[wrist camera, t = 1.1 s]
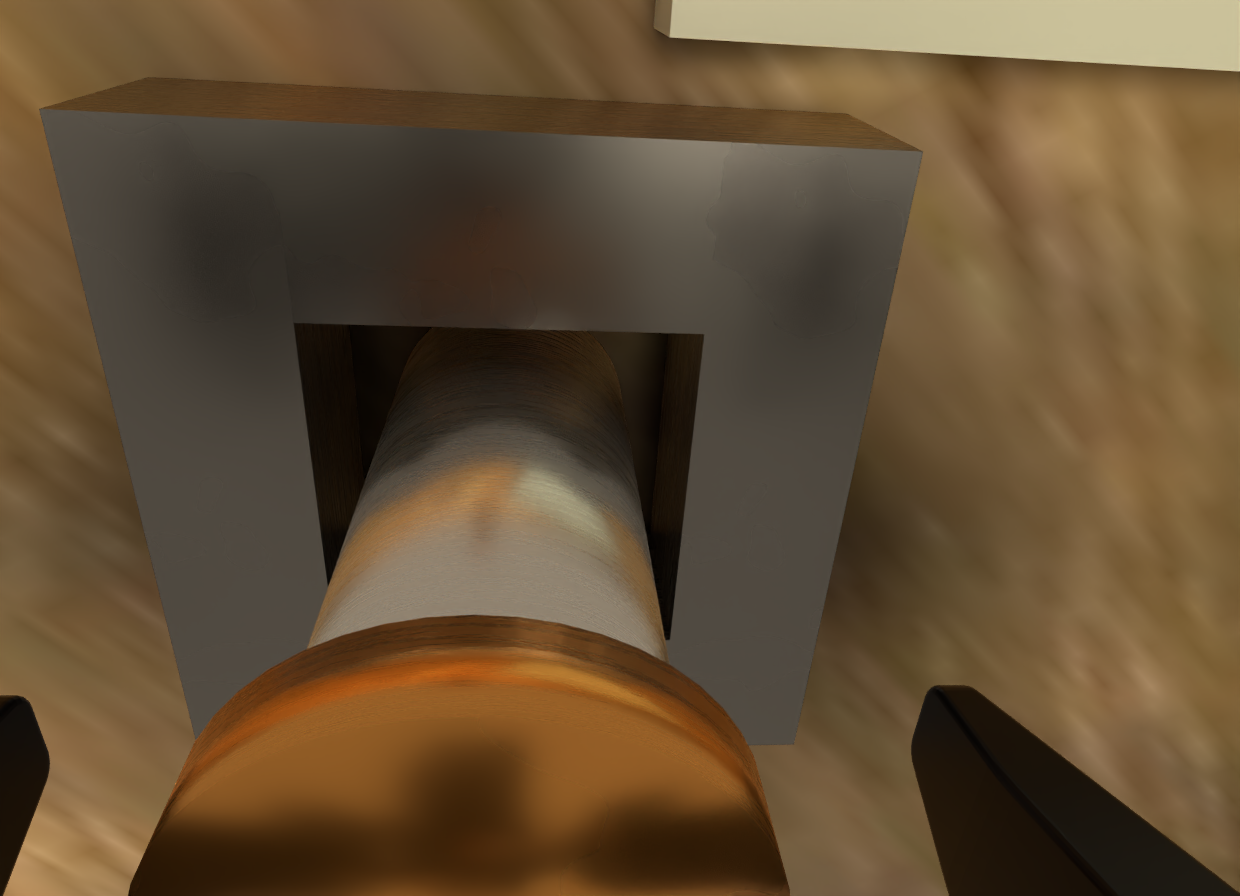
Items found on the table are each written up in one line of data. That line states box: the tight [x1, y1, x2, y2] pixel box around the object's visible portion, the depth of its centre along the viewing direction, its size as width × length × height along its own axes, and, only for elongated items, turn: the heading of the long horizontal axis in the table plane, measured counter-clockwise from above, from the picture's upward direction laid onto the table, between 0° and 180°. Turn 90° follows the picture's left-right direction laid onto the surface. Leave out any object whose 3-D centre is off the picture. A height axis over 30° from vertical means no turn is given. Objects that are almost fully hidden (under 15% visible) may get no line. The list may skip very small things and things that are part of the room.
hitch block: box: [39, 77, 923, 745], centre depth 14 cm, size 10×10×3 cm
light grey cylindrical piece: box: [128, 327, 790, 896], centre depth 11 cm, size 5×5×10 cm
